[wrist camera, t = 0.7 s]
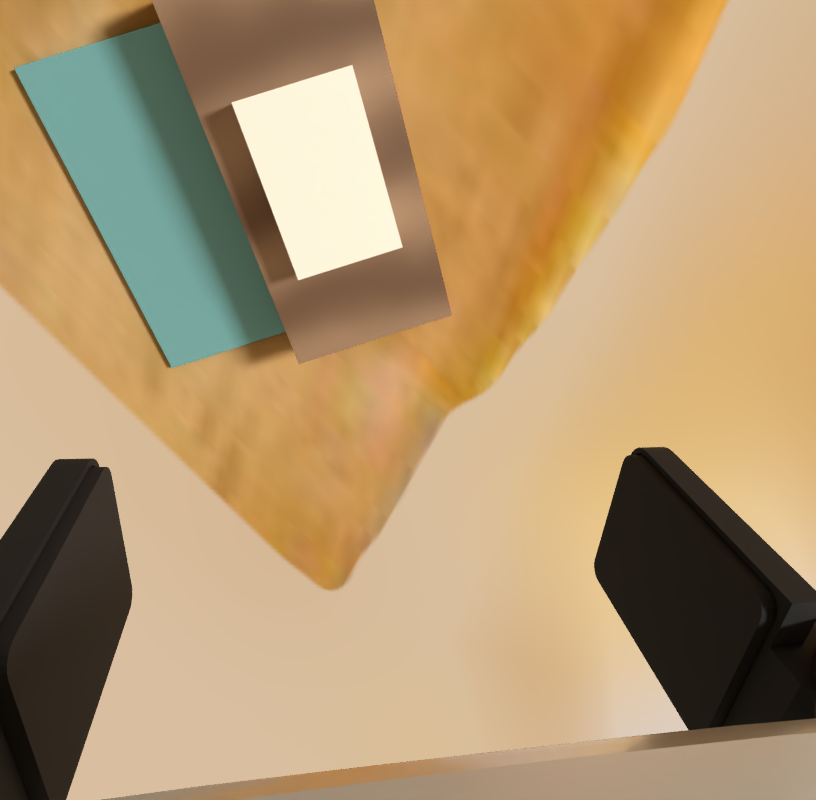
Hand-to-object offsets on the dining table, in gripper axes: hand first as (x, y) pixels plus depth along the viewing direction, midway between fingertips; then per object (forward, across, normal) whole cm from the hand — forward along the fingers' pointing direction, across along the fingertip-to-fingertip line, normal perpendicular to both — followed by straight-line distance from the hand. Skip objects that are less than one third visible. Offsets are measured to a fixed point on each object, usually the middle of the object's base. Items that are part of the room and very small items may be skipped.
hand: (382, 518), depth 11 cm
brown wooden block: (+30, 0, -3) cm, 30 cm away
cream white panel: (+26, 0, -3) cm, 26 cm away
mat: (+30, +9, 0) cm, 31 cm away
